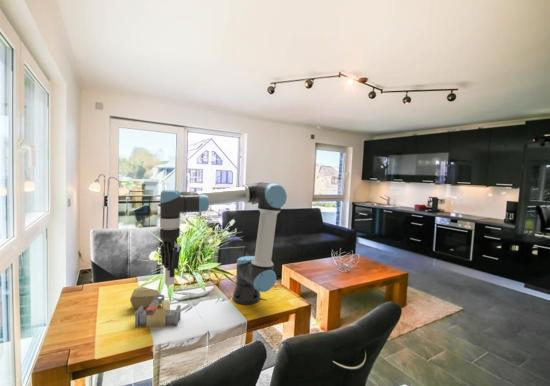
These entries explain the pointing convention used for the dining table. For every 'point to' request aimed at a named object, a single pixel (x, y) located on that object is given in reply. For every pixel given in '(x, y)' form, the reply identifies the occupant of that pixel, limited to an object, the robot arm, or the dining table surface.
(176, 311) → the valve
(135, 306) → the low-poly potato
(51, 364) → the dining table surface
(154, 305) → the lever
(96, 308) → the dining table surface
